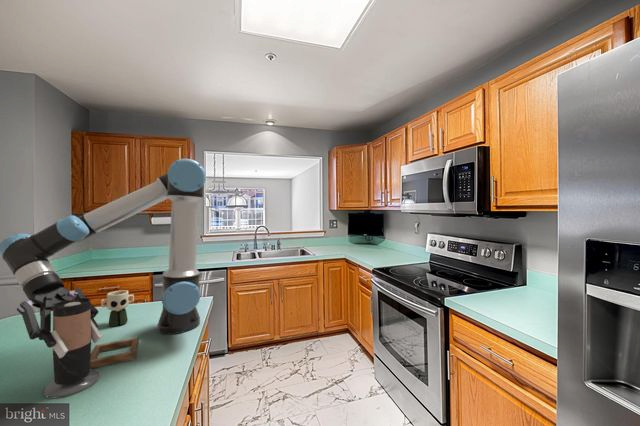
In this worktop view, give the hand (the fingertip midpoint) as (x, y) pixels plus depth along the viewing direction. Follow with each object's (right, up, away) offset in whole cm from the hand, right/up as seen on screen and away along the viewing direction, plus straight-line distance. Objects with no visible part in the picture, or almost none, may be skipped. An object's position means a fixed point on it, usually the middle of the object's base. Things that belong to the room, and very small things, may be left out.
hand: (81, 346), depth 73 cm
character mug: (-20, -10, +40) cm, 46 cm away
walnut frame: (-3, -10, +16) cm, 19 cm away
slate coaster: (-3, -11, +1) cm, 11 cm away
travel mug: (-3, -9, +1) cm, 9 cm away
